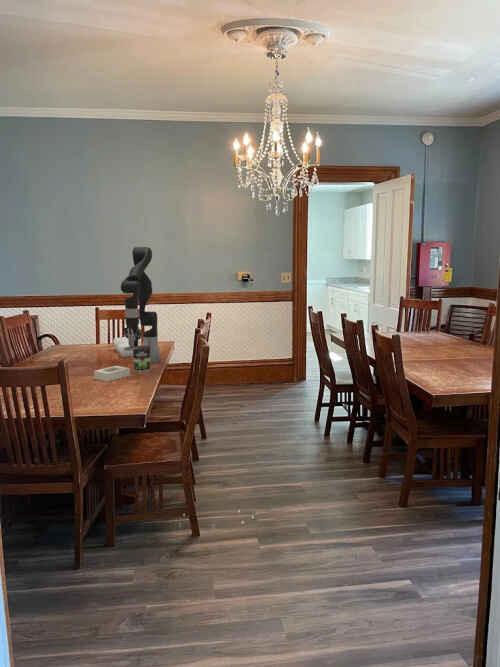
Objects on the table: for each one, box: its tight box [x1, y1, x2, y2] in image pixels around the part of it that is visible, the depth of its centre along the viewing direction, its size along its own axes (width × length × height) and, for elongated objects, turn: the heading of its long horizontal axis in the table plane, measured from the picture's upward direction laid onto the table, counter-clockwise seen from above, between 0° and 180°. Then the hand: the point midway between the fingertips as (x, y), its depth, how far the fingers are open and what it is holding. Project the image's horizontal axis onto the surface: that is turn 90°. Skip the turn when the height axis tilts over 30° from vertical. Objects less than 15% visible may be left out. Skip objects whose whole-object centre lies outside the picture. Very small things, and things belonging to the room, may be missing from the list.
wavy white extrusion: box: [112, 336, 142, 358], centre depth 361 cm, size 35×16×11 cm, turn 20°
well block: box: [93, 365, 131, 382], centre depth 294 cm, size 16×12×4 cm
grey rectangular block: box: [124, 333, 138, 351], centre depth 290 cm, size 6×4×9 cm, turn 143°
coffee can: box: [132, 345, 152, 373], centre depth 311 cm, size 10×10×14 cm
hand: (133, 345), depth 292 cm, fingers closed on grey rectangular block, 4 cm apart
